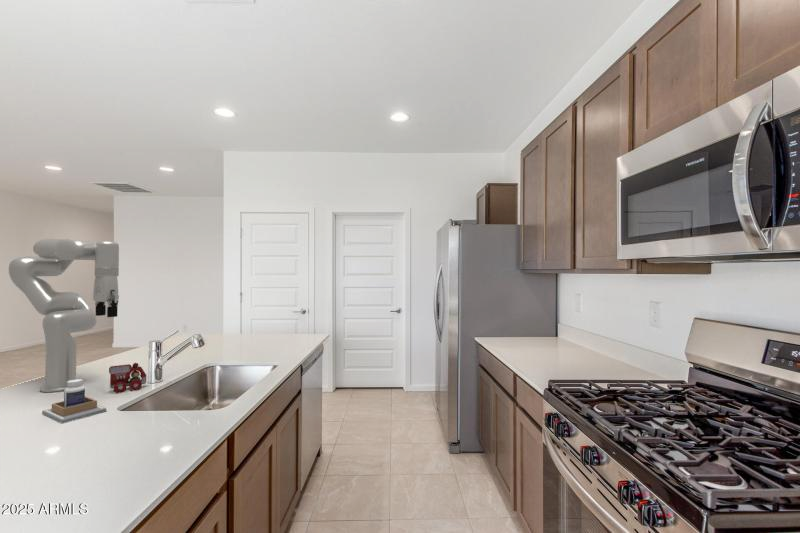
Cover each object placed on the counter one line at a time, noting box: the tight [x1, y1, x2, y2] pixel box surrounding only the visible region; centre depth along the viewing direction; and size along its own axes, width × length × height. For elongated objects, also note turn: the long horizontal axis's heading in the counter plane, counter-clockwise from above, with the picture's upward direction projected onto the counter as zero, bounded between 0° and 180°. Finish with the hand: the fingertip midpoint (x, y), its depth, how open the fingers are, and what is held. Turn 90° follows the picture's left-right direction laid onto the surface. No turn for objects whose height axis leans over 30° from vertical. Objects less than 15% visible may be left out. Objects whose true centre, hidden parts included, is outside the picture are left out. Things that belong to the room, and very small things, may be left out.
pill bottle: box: [63, 378, 86, 408], centre depth 130 cm, size 5×5×10 cm
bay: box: [41, 395, 107, 424], centre depth 129 cm, size 16×12×4 cm
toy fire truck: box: [108, 362, 147, 394], centre depth 155 cm, size 7×12×10 cm, turn 129°
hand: (106, 316), depth 150 cm, fingers open, 9 cm apart
